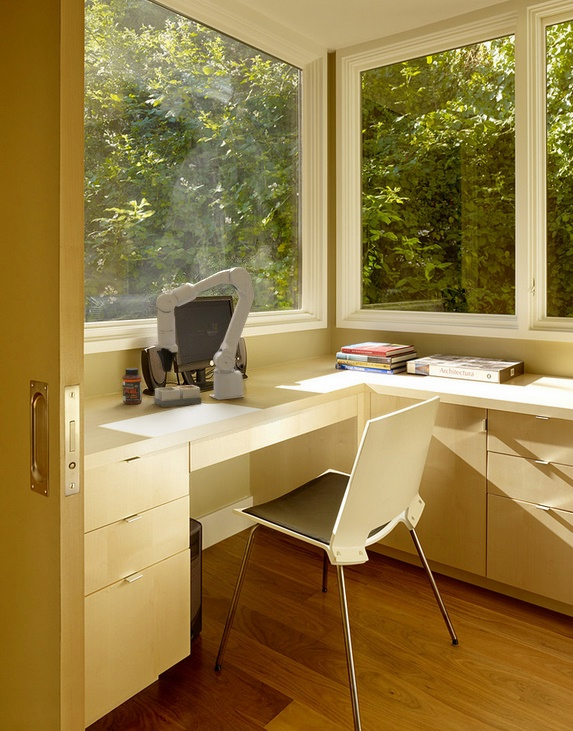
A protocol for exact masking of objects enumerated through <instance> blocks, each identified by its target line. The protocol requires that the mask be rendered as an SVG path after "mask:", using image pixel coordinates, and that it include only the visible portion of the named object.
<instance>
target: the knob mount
mask: <svg viewBox="0 0 573 731" xmlns="http://www.w3.org/2000/svg"><path fill="white" fill-rule="evenodd" d="M153 403H154V404H155V405H157V406H159V407H161V408H172V407H180V406H189V405H199V404H200V405H201V404H202V397H201V387H199V386H197V385H194V384H190V385H188V384H187V385H178V386H175V387H174V386H168V387H166V386H165V387H157V388H154V397H153Z"/></svg>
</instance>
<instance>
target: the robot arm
mask: <svg viewBox="0 0 573 731" xmlns="http://www.w3.org/2000/svg"><path fill="white" fill-rule="evenodd" d="M252 280H253V279H252V276H251V275H250V273H249V271H248V270H247V269H246V268H244V267H241V266H238V267H236V266H235V267H231V268H229V269H225V270H221V271H218V272H216V273H214V274H212V275H210V276H208V277H206V278H204V279H203V280H200V281H198V282H196V283H194V284H192V283H189V282H186V283H185V282H183V283H180V286H178V287H175V288H173V289H172V290H171V289H168V290H167V293H163V294H160V295H159V296H158V297H157V298H156V302H155V305H156V307H157V308H158V309H157V311H156V312H157V318H156V321H157V323H156V324H157V328H156V329H157V341H156V342H155V344H153V345H154V347H156V349H160V350H156V353H157V355H158V358H159V359H160V360H159V361H160V364H161V367H162V370H163V372H164V373H169V372H172V369H173V368H172V367H173V363H174V359H175V358H176V355H177V354H178V353H179V347H178V346H179V345H177V343H176V316H175V308H176V307H181V306H182V305H183V306H184V305H185V304H188V303H190V302H192V301H194V300H195V299H196V298H197V296H198V294H199V293H201V292H204V291H206V290H209V289H212V288H213V287H215V286H217V285H230V286H231V287H232V288H233V289H234V290H235V293H236V294H237V296H238V300H237V303H236V305H235V308H234V311H233V314H232V316H231V320H230V322H229V325H228V328H227V330H226V333H225V336H224V337H223V341H222V342H221V344H220V347H219V349H218V350H217V352H215V354H214V355H213V359H212V361H213V364H214V365H215V368H214V369H213V394H212V393H211V394H209V397H210V398H213V399H216V400H218V401H221V400H230V399H239V398H245V396H244V390H243V389H244V387H243V386H244V384H243V383H244V382H243V381H244V378H243V373H242V372H241V371H240V370H236V369H235V366H236V355H237V351H238V350H237V349H238V344H239V342H240V338H241V336H242V333H243V332H244V331H243V330H244V328H245V325H246V322H247V320H248V317H249V315H250V311H251V309H252V305H253V303H254V301H255V297H256V295H255V290H254V286H253V282H252Z"/></svg>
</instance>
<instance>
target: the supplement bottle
mask: <svg viewBox="0 0 573 731" xmlns="http://www.w3.org/2000/svg"><path fill="white" fill-rule="evenodd" d="M142 392H143V391H142V376H141V375H140V374H139V368H137V367H128V368H125V374H124V375H123V376H122V403H123V404H125V405H130V406H131V405H138V404H142V400H143V395H142Z"/></svg>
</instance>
